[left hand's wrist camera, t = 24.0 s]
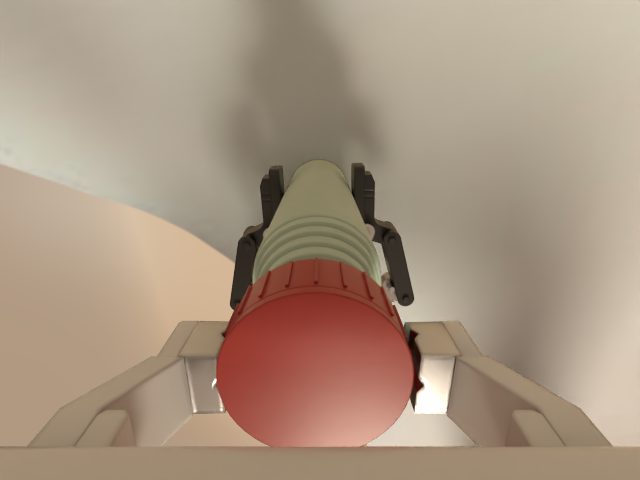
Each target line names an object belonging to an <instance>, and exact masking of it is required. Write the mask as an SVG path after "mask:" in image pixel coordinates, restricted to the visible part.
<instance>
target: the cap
mask: <svg viewBox="0 0 640 480" xmlns="http://www.w3.org/2000/svg"><path fill="white" fill-rule="evenodd" d="M223 335H225V336H226V337H225V339H224V341H223V343H222V346H221V349H220V351H219V354H218V359H217V364H216V381H217V388H218V391H219V395H220V398H221V400H222V402H223V404H224V407H225V408H226V410H227V411H228V413H229V415H230V416H231V417H232V418H233V420H234V421H235V422H236V423H237V424H238V425H239V426H240V427H241V428H242V429H243V430H244V431H245V432H247V433H248V434H250V435H251V436H252V437H254V438H255V439H257V440H259V441H260V442H262V443H264V444H266V445H268V446H271V447H360V446H362V445H364V444H367V443H368V442H370V441H372V440H374V439H375V438H377V437H378V436H380V435H381V434H382V433H384V432H385V431H386V430H387V429H388V428H389V427H391V426H392V425H393V424H394V422H395V421H396V420H397V419H398V418H399V416H400V415H401V413H402V412H403V410H404V409H405V407H406V405H407V403H408V400H409V398H410V395H411V391H412V387H413V380H414V366H413V360H412V355H411V352H410V350H409V347H408V344H407V342H406V339H405V338H406V337H407V334H406V332H405V329H404V327H403V324H402V322H401V319H400V317H399V314H398V312H397V309H396V307H395V305H393V306H392V303H391V301H390V300H389V298H388V296H387V294H386V292H385V289H384V287H383V286H382V287H380V286H379V285H378V284H377V283H376V282H375V281H374V280H373V279H372V278H371V277H369V276H368V275H367V273H366V272H365V271H364V272H362V271H360V270H358V269H356V268H354V267H352V266H349V265H347V264H344V262H342V261H341V262H337V261H333V260H324V259H318V258H315V259H307V260H299V261H294V262H293V261H290V262H289V263H287V264H284V265H282V266H279V267H277V268H275V269H273V270H271V271H270V270H268V271H267V272H266V274H265V275H263V276H262V277H261V278H259V279H258V280H257V281H256V282H255V283H254V284H253V285H249V286H248V289H247V291H246V293H245V295H244V297H243V298H242V300H241V302H240V304H239V303H237V305H236V307H235V310H234V312H233V314H232V316H231V319H230V321H229V323H228V325H227V328H226V330H225V332H224V334H223Z"/></svg>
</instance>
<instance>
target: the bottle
mask: <svg viewBox="0 0 640 480" xmlns="http://www.w3.org/2000/svg"><path fill="white" fill-rule="evenodd" d="M315 258H318V259H324V260H333V261H337V262H341V261H342V262H344V264H347V265H349V266H352V267H354V268H356V269H358V270H360V271H362V272H364V271H365V272H366V273H367V275H368V276H369V277H371V278H372V279H373V280H374V281H375V282H376V283H377V284H378V285H379V286H380V287H381V271H380V263H379V258H378V255H377V252H376V250H375V247H374V245H373V243H372V240H371V238H370V235H369V233H368V231H367V228H366V226H365V224H364V221H363V219H362V217H361V214H360V212H359V209H358V207H357V205H356V202H355V200H354V198H353V195H352V193H351V191H350V188H349V186H348V183H347V181H346V179H345V176H344V174H343V173H342V171H341V170H340V169H339V168H338V167H337V166H336V165H335V164H333V163H331V162H329V161H326V160H312V161H308V162H306V163H304V164H303V165H301V166H300V167H299V168H298V169H297V170H296V172H295V173H294V175H293V177H292V179H291V181H290V183H289V185H288V187H287V190H286V192H285V194H284V196H283V198H282V200H281V202H280V205H279V207H278V209H277V211H276V213H275V215H274V217H273V219H272V222H271V224H270V226H269V228H268V230H267V232H266V234H265V236H264V239H263V241H262V243H261V245H260V247H259V249H258V252H257V254H256V258H255V262H254V269H253V284H254V283H255V282H256V281H257V280H258V279H259V278H261V277H262V276H263V275H265V274H266V272H267V271H268V270H270V271H271V270H273V269H275V268H277V267H279V266H282V265H284V264H287V263H289V262H290V261H293V262H294V261H299V260H307V259H315Z"/></svg>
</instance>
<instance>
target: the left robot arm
mask: <svg viewBox="0 0 640 480" xmlns="http://www.w3.org/2000/svg"><path fill="white" fill-rule="evenodd" d="M228 323H229V322H220V321H200V322H199V321H182V322H180V323H179V324H178V325H177V327H176V328H175V330H174V331H173V333H172V334H171V336H170V337H169V339H168V340H167V342H166V343H165V345H164V346H163V348H162V350H161V351H160V353H159V354H158V356H156V357H150V358H148V359H146V360H144V361H143V362H141V363H139V364H137V365H136V366H134V367H132V368H130V369H129V370H127V371H125V372H123V373H121V374H120V375H118V376H116V377H114V378H113V379H111V380H109V381H107V382H106V383H104V384H102V385H100V386H98V387H97V388H95V389H93V390H91V391H90V392H88V393H86V394H84V395H83V396H81V397H79V398H77V399H75V400H74V401H72V402H70V403H68V404H67V405H65V406H63V407H61V408H60V409H59V410H58V411H57V412H56V413H55V415H54V416H53V417H52V418H51V419H50V420H49V422H48V423H47V424H46V425H45V426H44V427H43V429H42V430H41V431H40V432H39V433H38V434H37V435H36V437H35V438H34V439H33V440H32V441H31V442H30V444H29V445H28V446H27V447H0V480H640V447H613V446H612V445H611V444H610V442H609V441H608V440H607V439H606V438H605V437H604V435H603V434H602V433H601V432H600V431H599V430H598V428H597V427H596V426H595V425H594V424H593V423H592V421H591V420H590V419H589V418H588V417H587V416H586V414H585V413H584V412H583V411H582V410H581V409H580V408H578V407H577V406H575V405H573V404H571V403H570V402H568V401H566V400H564V399H562V398H561V397H559V396H557V395H555V394H554V393H552V392H550V391H548V390H547V389H545V388H543V387H541V386H540V385H538V384H536V383H534V382H533V381H531V380H529V379H527V378H525V377H524V376H522V375H520V374H518V373H517V372H515V371H513V370H511V369H510V368H508V367H506V366H504V365H503V364H501V363H499V362H497V361H495V360H494V359H492V358H490V357H484V356H482V354H481V353H480V351H479V350H478V348H477V347H476V345H475V344H474V342H473V341H472V339H471V338H470V336H469V335H468V333H467V332H466V330H465V329H464V327H463V326H462V324H461V323H460V322H459V321H440V322H405V325H404V329H405V332H406V334H407V337H406V338H405V339H406V342H407V344H408V347H409V350H410V352H411V355H412V360H413V366H414V380H413V387H412V391H411V395H410V400H411V403H412V406H413V409H414V412H415V413H431V414H447V416H448V417H449V418H450V419H451V420H452V421H453V422H454V423H455V424H456V425H457V426H458V427H459V428H460V429H461V430H462V431H464V432H465V433H466V434H467V435H468V436H469V437H470V438H471V439H472V440H473V441H474V442H475V443H476V444H477V445H478V446H479V447H161V446H162V445H163V444H164V443H165V442H166V441H167V440H168V439H169V438H170V437H171V436H172V435H173V434H175V433H176V432H177V431H178V430H179V429H180V428H181V427H182V426H183V425H184V424H185V423H186V422H187V421H188V420H189V419H190V418H191V417H192V416H193V414H208V413H225V412H226V408H225V407H224V404H223V402H222V400H221V398H220V395H219V391H218V388H217V381H216V364H217V359H218V354H219V351H220V349H221V346H222V343H223V341H224V339H225V337H226V336H225V335H223V334H224V332H225V330H226V328H227V325H228Z"/></svg>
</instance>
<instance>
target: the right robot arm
mask: <svg viewBox="0 0 640 480" xmlns="http://www.w3.org/2000/svg"><path fill="white" fill-rule="evenodd" d="M351 180H352V195H353V198H354V200H355V202H356V205H357V207H358V209H359V212H360V214H361V217H362V219H363V221H364V224H365V226H366V228H367V231H368V233H369V235H370V238H371V240H372V241H374V242H378V243H381V245H382V249H383V253H384V257H385V261H386V265H387V269H388V272H387V273H384V274H383V275H382V276H381V287H382V286H383V287H384V289H385V292H386V294H387V296H388V298H389V300H390V301H391V302H394V301H398V303H399V304H400V305H402V306H408V305H410V304H412V303H413V301H414V295H413V291H412V286H411V282H410V277H409V273H408V268H407V264H406V259H405V255H404V250H403V246H402V241H401V237H400V235H399V234H398V232H397V230H396V229H395V227H394V226H393V224H392V223H391V222H388V221H385V222H383V221H379V220H377V219H375V218H374V195H375V192H374V190H375V182H374V179H373V177H372V175H371V173H370V172H369V171H365V168H364V165H363V164H362V163H352V166H351ZM260 190H261V200H262V210H263V223H262V224H260V225H257V226H249V227H248V228H247V229H246V230H245V232H244V235H243V236H242V237H241V238H240V240H239V242H238V248H237V255H236V262H235V270H234V277H233V285H232V292H231V299H230V306H231V308H232V309H233V310H235V307H236V305H237V303H239V304H240V302H241V300H242V298H243V297H244V295H245V293H246V291H247V289H248V286H249V285H253V269H254V262H255V258H256V254H257V252H258V249H259V247H260V245H261V243H262V241H263V239H264V236H265V234H266V232H267V230H268V228H269V226H270V224H271V222H272V219H273V217H274V215H275V213H276V211H277V209H278V207H279V205H280V202H281V200H282V198H283V196H284V180H283V169H282V166H271V168H270V169H269V175H265V176H264V177H263V179H262V182H261V185H260ZM360 447H367V445H366V444H364V445H362V446H360Z"/></svg>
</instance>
